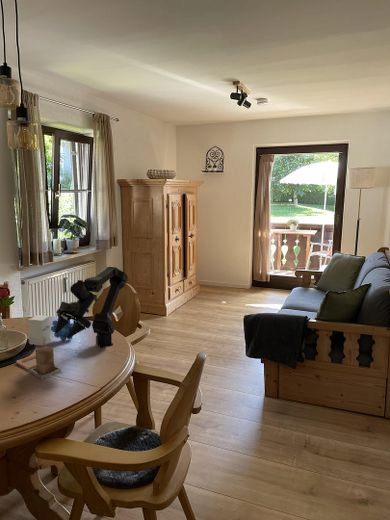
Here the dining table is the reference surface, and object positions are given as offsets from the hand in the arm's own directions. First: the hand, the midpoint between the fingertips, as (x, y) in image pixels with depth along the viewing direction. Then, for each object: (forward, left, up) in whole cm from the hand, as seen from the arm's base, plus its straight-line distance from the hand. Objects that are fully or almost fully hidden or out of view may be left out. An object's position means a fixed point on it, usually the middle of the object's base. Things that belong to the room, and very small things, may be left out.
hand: (61, 335), depth 163 cm
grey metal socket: (+8, +2, -14) cm, 16 cm away
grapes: (-8, -27, -14) cm, 31 cm away
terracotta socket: (+10, -9, -14) cm, 19 cm away
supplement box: (+2, -32, -14) cm, 35 cm away
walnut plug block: (+8, +2, -14) cm, 16 cm away
